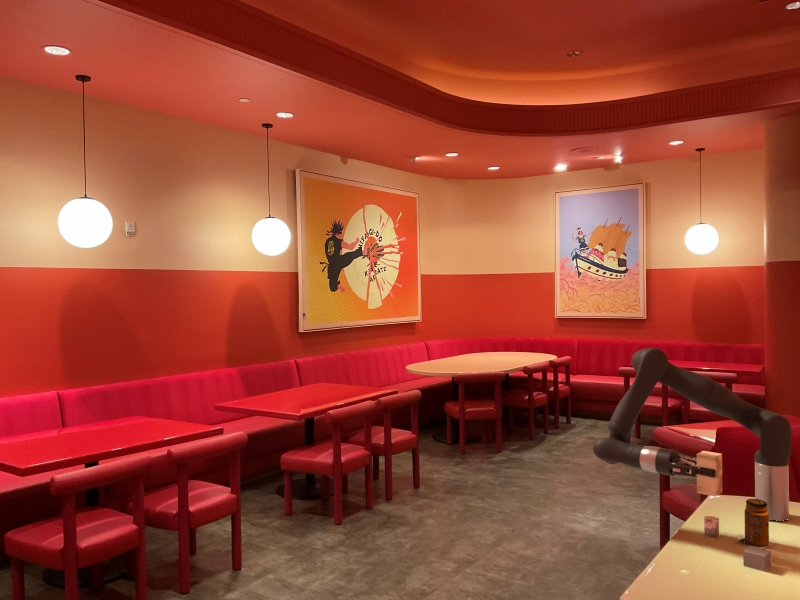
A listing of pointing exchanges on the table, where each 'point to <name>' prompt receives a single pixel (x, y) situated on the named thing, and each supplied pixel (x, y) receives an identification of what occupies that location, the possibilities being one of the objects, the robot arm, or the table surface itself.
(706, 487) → the maple block
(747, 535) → the condiment
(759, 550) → the rubber block
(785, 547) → the table surface
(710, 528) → the metal cylinder
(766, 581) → the table surface
